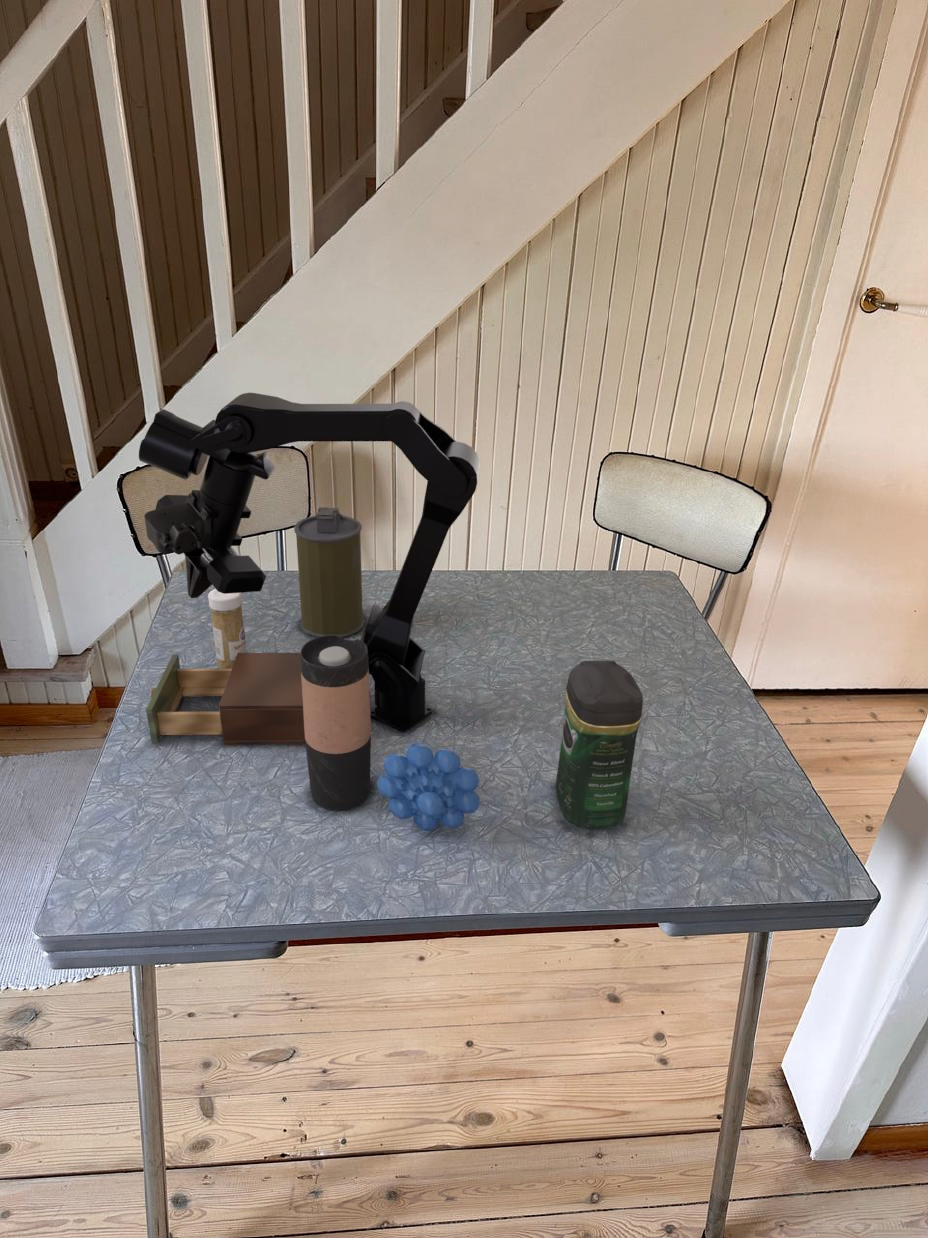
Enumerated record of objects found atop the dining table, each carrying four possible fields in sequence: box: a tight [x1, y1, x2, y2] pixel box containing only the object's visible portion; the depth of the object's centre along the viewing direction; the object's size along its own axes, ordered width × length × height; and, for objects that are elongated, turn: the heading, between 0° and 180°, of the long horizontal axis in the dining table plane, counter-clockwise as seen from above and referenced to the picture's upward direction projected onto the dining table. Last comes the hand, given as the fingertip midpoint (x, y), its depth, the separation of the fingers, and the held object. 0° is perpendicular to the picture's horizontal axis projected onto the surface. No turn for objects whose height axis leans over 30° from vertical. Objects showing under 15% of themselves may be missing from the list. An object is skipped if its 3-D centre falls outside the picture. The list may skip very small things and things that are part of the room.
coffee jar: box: [555, 659, 644, 831], centre depth 97 cm, size 10×8×19 cm
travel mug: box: [299, 634, 372, 812], centre depth 98 cm, size 8×8×20 cm
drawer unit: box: [218, 652, 306, 746], centre depth 114 cm, size 12×13×6 cm
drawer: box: [145, 654, 232, 745], centre depth 114 cm, size 13×14×5 cm
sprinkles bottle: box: [207, 588, 248, 669], centre depth 122 cm, size 5×5×14 cm
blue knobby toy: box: [376, 743, 481, 832], centre depth 93 cm, size 12×7×12 cm, turn 93°
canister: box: [293, 506, 365, 639], centre depth 135 cm, size 11×10×20 cm
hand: (192, 596), depth 110 cm, fingers closed
